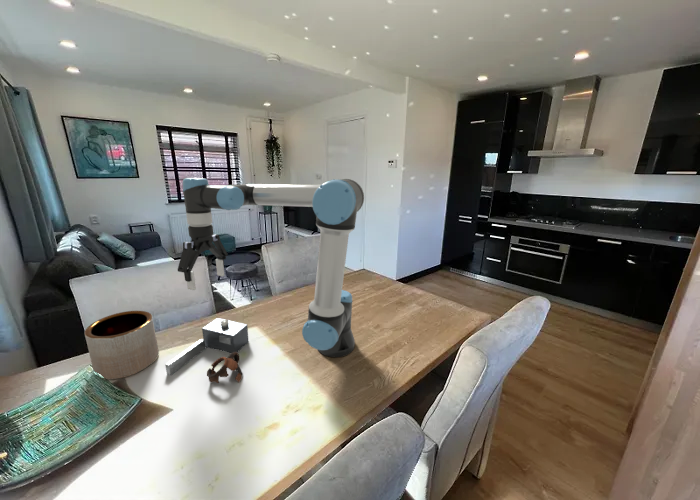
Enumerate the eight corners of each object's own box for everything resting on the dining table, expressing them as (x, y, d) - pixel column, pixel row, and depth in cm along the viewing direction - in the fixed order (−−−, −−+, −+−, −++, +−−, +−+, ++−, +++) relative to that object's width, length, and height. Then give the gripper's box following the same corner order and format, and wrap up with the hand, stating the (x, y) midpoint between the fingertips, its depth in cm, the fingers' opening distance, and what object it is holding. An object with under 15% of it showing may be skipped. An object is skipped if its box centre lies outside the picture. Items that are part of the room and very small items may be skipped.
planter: (106, 353, 101) (96, 314, 97) (163, 343, 108) (157, 306, 104) (84, 387, 86) (72, 343, 81) (153, 373, 92) (145, 332, 88)
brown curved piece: (237, 390, 87) (221, 375, 84) (215, 396, 90) (197, 381, 87) (252, 358, 98) (237, 343, 94) (231, 364, 100) (216, 350, 97)
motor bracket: (248, 342, 111) (247, 319, 108) (201, 384, 88) (197, 358, 86) (219, 335, 114) (216, 313, 112) (166, 374, 92) (162, 348, 89)
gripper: (218, 218, 108) (223, 269, 114) (158, 230, 85) (168, 294, 91) (234, 219, 106) (238, 272, 112) (177, 232, 83) (186, 297, 89)
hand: (207, 282), depth 101 cm, fingers open, 13 cm apart
